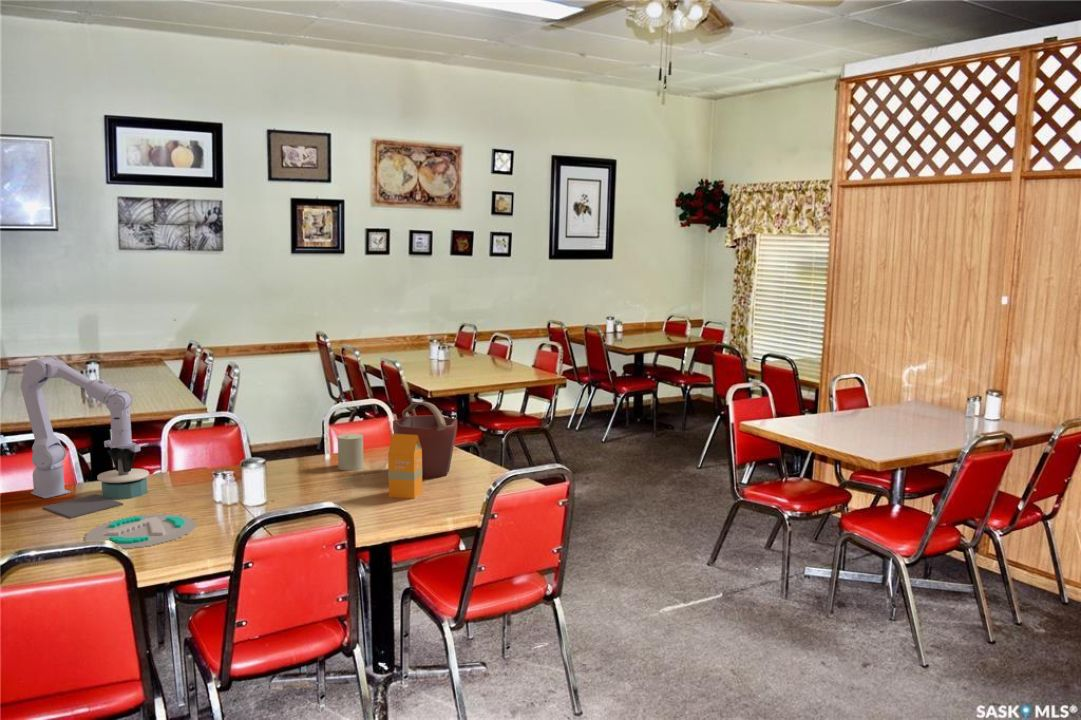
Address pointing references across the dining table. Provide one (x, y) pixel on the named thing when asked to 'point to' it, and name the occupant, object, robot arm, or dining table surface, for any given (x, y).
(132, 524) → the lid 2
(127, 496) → the bowl
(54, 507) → the mat
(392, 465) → the orange juice
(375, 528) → the dining table surface
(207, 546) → the dining table surface
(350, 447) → the can
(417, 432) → the bucket
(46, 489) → the robot arm
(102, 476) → the lid
